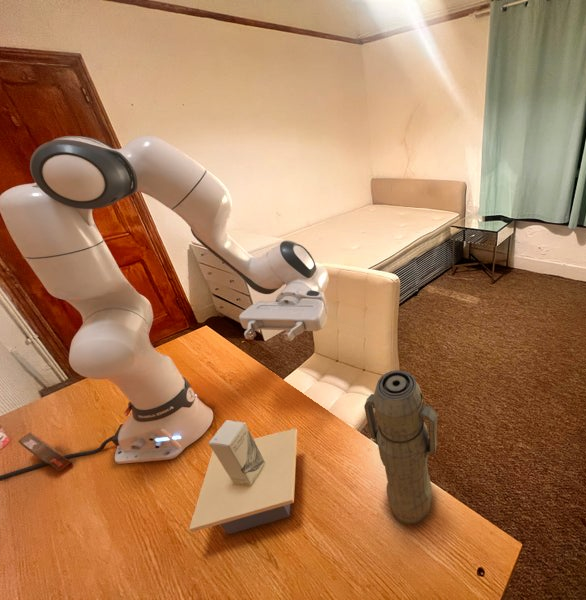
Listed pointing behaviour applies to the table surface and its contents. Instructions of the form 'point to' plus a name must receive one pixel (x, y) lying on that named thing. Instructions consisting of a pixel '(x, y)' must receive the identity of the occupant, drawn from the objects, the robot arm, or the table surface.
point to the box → (237, 452)
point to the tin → (44, 451)
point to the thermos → (403, 443)
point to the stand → (250, 489)
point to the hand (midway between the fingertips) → (267, 337)
